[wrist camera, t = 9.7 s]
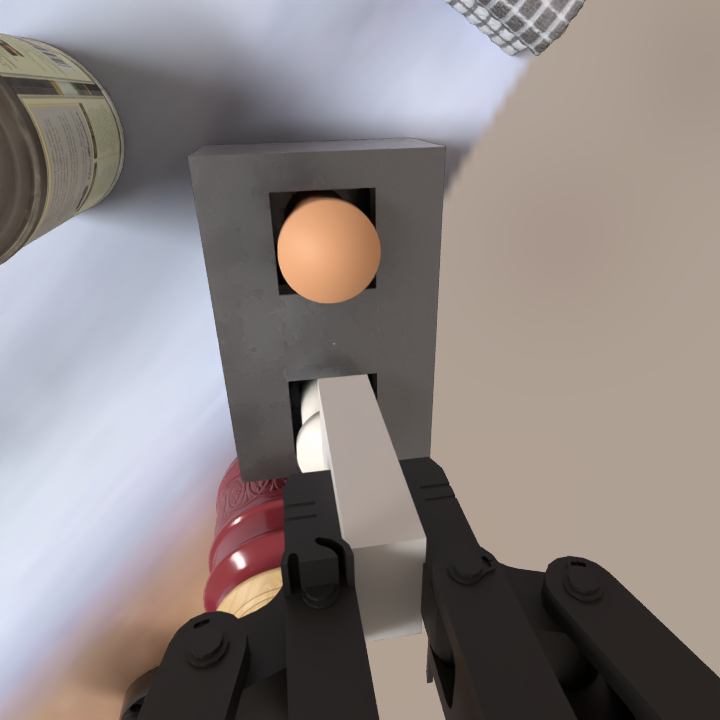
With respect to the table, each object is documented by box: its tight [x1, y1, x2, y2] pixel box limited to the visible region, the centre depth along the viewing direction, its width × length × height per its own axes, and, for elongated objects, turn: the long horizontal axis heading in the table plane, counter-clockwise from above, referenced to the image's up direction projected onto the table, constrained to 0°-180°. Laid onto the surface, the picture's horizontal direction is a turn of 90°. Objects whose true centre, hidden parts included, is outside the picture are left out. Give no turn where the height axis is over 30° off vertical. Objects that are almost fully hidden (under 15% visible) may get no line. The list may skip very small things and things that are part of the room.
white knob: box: [296, 375, 354, 473], centre depth 35 cm, size 6×6×9 cm
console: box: [187, 138, 446, 483], centre depth 36 cm, size 22×14×8 cm, turn 1°
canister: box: [203, 457, 289, 619], centre depth 40 cm, size 13×13×18 cm
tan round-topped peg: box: [278, 190, 381, 303], centre depth 31 cm, size 6×6×9 cm
